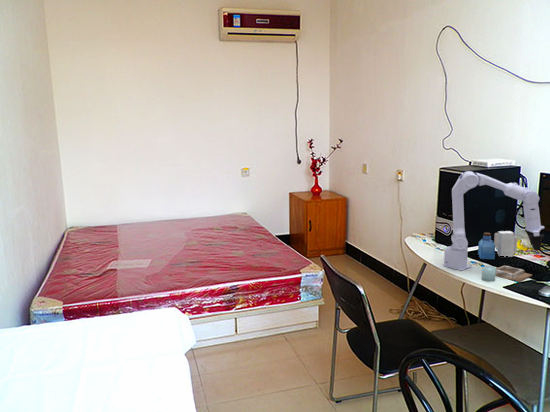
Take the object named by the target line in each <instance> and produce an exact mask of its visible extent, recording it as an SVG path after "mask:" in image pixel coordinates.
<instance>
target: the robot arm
mask: <svg viewBox="0 0 550 412" xmlns="http://www.w3.org/2000/svg"><path fill="white" fill-rule="evenodd" d="M485 185H486V186H489V187H492V188H494V189H498V190H499V191H502V192H503V194H504V195H505V196H507V197H510V198H512V199H515V200H518V201H522V203H523V214H524V215H523V216H524V222H525V223H524V224H525V225H524V226H525V228H524V232H525V233H526V234H527V237H528V239H529V242H530V246H532V248H533V250H534V252H535V251H536V252H537V251H541V249H542V242H543V238H544V237H545V235H544V234H540V232H541V230H544V229H545V226H544V225H542V223H541V215H540V207H539V202H540V196H539V194H538V193H537V192H535V191H534V190H532V189H531V188H529V187H524V186H521V185H519V184H518V183H517V182H509V183H505V182H502V181H500V180H498V179H496V178H493V177H490V176H488V175H485V174H482V173H479V172H474V171H471V170H467V171H464V172H462V174H460V176H458V179H457V180H456V182H455V184H454V185H453V187H452V188H451V200H452V206H451V207H452V223H453V224H452V227H453V228H452V234H451V236H450V237H451V238H450V240H451V242H452V244H451V245H449V246H446V247H445V250H444V253H443V259H444V260H443V261H444V262H443V265H442V266H443V267H446V268H451V269H454V270H458V271H464V270H466V269H468V268H471V267H472V265H470V264H468V254H469V253H468V249H469V248H468V245H469V242H468V239H467V237H466V231H465V230H466V229H465V210H464V209H465V207H464V206H465V205H464V204H465V203H464V194H466V193H467V192H468V191H469V190H471V189H474V188H476V187H477V186H479V187H481V186H485Z"/></svg>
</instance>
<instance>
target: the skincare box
mask: <svg viewBox="0 0 550 412" xmlns="http://www.w3.org/2000/svg"><path fill="white" fill-rule="evenodd" d="M497 233H498V248H497V249H496V250H497V251H496V252H497V254H498V255H497V256H498V257H500V256H504V257H503V258H510V257H511V258H512V257H514V252H513V247H514V237H515V233H514V232H513V231H511V230H505V231H504V230H500V231H497ZM506 256H508V257H506Z"/></svg>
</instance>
